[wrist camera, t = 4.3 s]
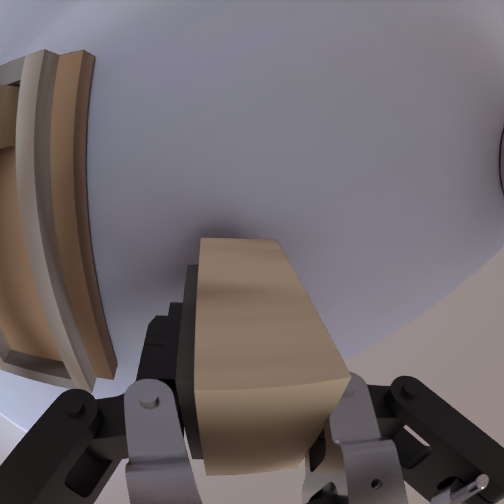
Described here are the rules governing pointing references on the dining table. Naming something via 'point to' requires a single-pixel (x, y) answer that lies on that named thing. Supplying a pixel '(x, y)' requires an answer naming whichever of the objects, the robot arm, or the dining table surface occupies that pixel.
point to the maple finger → (252, 360)
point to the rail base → (48, 226)
